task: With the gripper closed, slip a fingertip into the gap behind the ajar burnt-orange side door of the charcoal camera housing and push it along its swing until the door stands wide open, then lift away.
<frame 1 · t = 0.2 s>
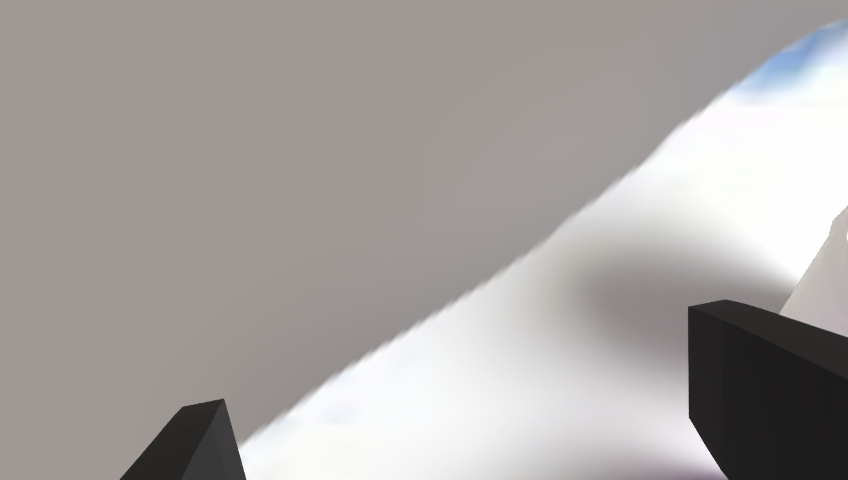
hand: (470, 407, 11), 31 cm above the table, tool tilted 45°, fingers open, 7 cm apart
foam cup: (826, 349, 43), on the table
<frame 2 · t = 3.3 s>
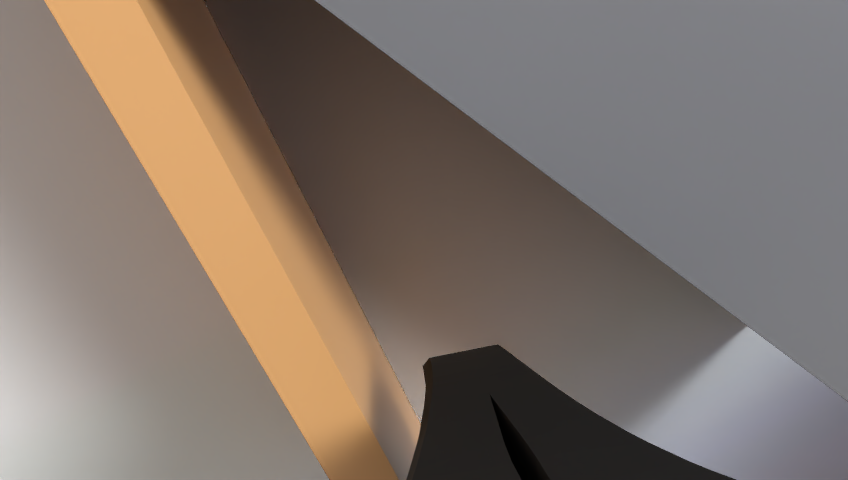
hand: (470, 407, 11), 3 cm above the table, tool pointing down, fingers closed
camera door: (264, 267, 11), point 3 cm above the table, hinge at 30.0°, touching gripper
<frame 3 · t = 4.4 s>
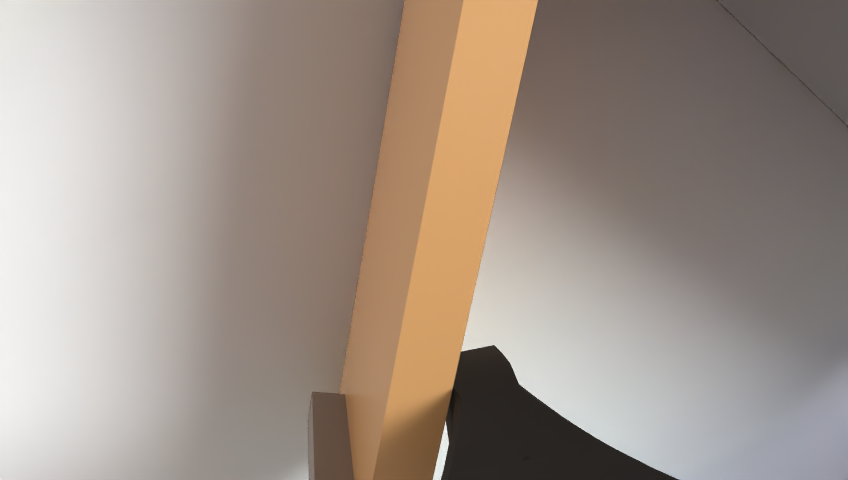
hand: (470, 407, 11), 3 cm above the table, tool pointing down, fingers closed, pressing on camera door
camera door: (402, 187, 11), point 3 cm above the table, hinge at 63.2°, touching gripper
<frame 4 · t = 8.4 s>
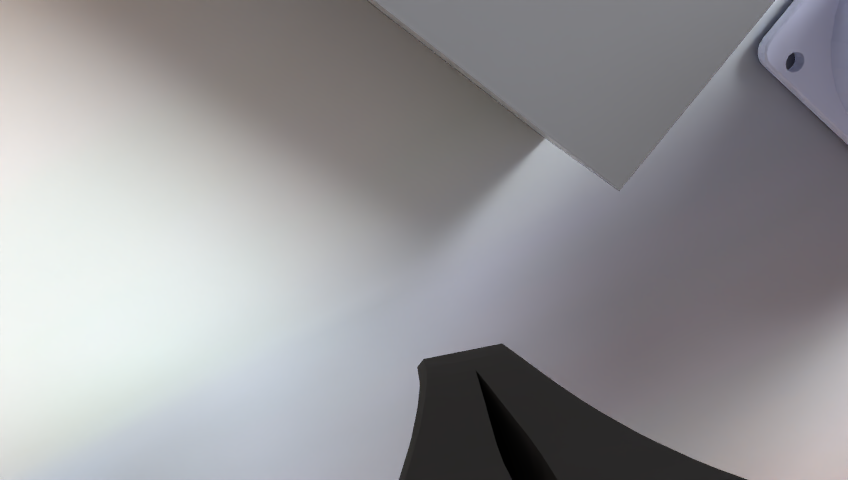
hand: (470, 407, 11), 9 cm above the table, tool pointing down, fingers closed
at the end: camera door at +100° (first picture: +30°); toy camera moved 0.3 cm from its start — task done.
